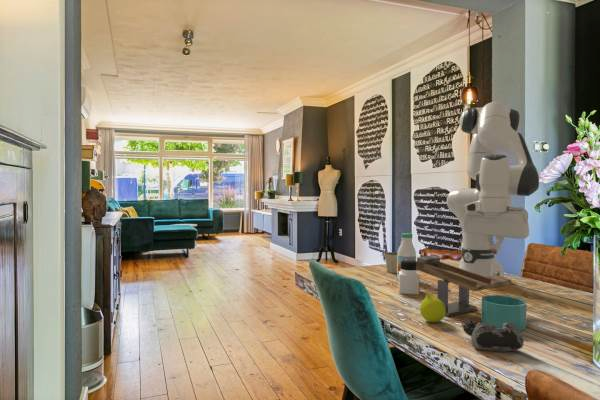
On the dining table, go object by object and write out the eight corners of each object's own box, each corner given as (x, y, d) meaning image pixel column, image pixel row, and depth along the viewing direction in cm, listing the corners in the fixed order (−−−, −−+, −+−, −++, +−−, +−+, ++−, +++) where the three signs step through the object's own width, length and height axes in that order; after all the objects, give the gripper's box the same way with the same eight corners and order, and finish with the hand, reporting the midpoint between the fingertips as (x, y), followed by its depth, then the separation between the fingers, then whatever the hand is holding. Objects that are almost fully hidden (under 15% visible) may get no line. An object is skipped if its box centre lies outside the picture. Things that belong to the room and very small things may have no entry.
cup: (496, 316, 123) (496, 293, 123) (533, 326, 114) (534, 302, 114) (473, 322, 117) (473, 298, 117) (511, 334, 108) (512, 308, 108)
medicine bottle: (419, 294, 149) (419, 262, 148) (399, 293, 150) (399, 261, 150) (417, 290, 156) (418, 259, 155) (398, 289, 157) (398, 258, 157)
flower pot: (380, 270, 195) (381, 252, 195) (399, 269, 196) (400, 251, 196) (387, 274, 185) (387, 255, 185) (407, 273, 186) (407, 255, 186)
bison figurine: (526, 356, 94) (510, 339, 104) (526, 327, 94) (510, 312, 104) (471, 354, 96) (461, 337, 106) (472, 325, 95) (461, 310, 105)
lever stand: (457, 304, 136) (458, 274, 136) (476, 309, 130) (477, 278, 130) (429, 311, 129) (430, 279, 128) (448, 316, 123) (448, 283, 123)
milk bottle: (393, 279, 174) (393, 232, 174) (408, 278, 177) (408, 232, 177) (404, 283, 167) (405, 234, 167) (419, 281, 170) (420, 233, 170)
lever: (451, 266, 147) (453, 252, 147) (510, 285, 129) (512, 270, 129) (415, 271, 137) (417, 257, 137) (473, 294, 119) (476, 277, 118)
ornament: (416, 318, 122) (416, 284, 121) (439, 317, 122) (439, 284, 122) (425, 326, 114) (425, 290, 114) (449, 325, 115) (450, 290, 115)
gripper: (533, 207, 121) (533, 253, 122) (471, 204, 138) (471, 245, 139) (522, 208, 118) (521, 255, 118) (460, 205, 135) (460, 247, 135)
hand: (494, 250), depth 129 cm, fingers closed
